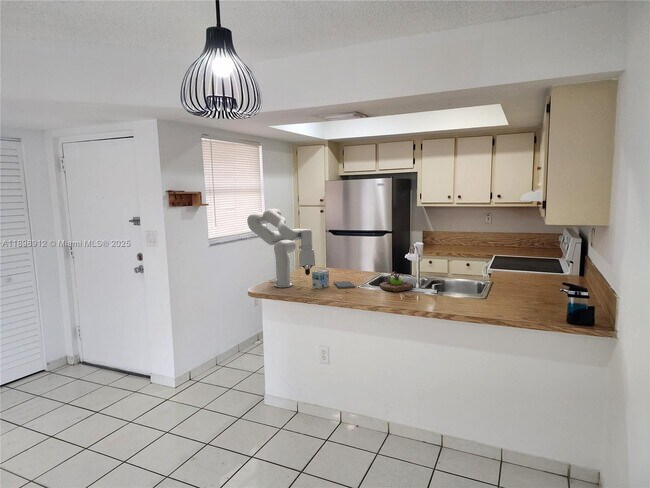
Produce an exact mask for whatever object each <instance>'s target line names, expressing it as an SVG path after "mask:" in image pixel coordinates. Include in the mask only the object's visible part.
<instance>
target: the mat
mask: <svg viewBox="0 0 650 488" xmlns="http://www.w3.org/2000/svg"><path fill="white" fill-rule="evenodd" d="M333 285H334V286H336V287H337V288H338V289H339V290H342V289H355V288H356V286H355V285H354V284H353V283H352V282H351V281H349V280H347V281H335V280H334V281H333Z"/></svg>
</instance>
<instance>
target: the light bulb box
mask: <svg viewBox="0 0 650 488" xmlns="http://www.w3.org/2000/svg"><path fill="white" fill-rule="evenodd" d="M311 278H312V281H311V282H312V283H311V285H312V288H313V289H314V288H315V289H319V290H320V289H323V288H327V287H330V272H329V270H325V269H319V270H315V271H312V272H311Z"/></svg>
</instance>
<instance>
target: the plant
mask: <svg viewBox="0 0 650 488" xmlns="http://www.w3.org/2000/svg"><path fill="white" fill-rule="evenodd" d="M400 275H401V276H402V277H404V276H405V275H404V273H399V274H397V272H396V270H395V271H392V272H391V273H390V278H389V280H386V281H383V282H381V283H379V288H380V289H382V290H385V291H391V292H403V291H409V290H412V289H413V287H414V285H413V283H410V282H407V281H404V280H405V279H402V278H401V277H400ZM392 277H393V278H392Z"/></svg>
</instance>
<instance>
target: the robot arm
mask: <svg viewBox="0 0 650 488" xmlns="http://www.w3.org/2000/svg"><path fill="white" fill-rule="evenodd" d="M246 219H247V220H246V221H247V226H248V228H249V229H250V231H251V232H253V234H255V235H257V236H258V237H259V238H260V239H261V240H263V241H264V242H265V243H266V244H268V246H273V251H274V256H275V275H276V276H275V277H276V278H275V279H274V280H269V284H274V287H276V288H289V287H292V286H293V283H292V282H291V269H290V268H291V267H290V266H291V264H290V263H291V261H290V257H289V254H291V253H293V252H294V251H296V249H297V244H296V242H295V241H297V240H298V241H299V240H300V245H299V246H298V249H300V250H299V258H298V259H299V261H298V262H299V267H300V268H303V269H304V273H305V275H306V276H310V274H311V268H313V267H315V266H316V257H315V250H314V249H313V233H312V232H313V231H312V229H310V228H290V227H288V226H287V225H286V223H287V220H286V218H285V217H283V216H282V212H281V210H280V209H279V208H266V209H265V210H264V211H262V212H261V211H260V212H253V213H251V214H249V215H247V218H246ZM264 224H265V225H266V224H271V225H272V226H273V227H275V228H276V229H277V230H276V231H275V230H271V229H270V228H268V226H265V225H264Z"/></svg>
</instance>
